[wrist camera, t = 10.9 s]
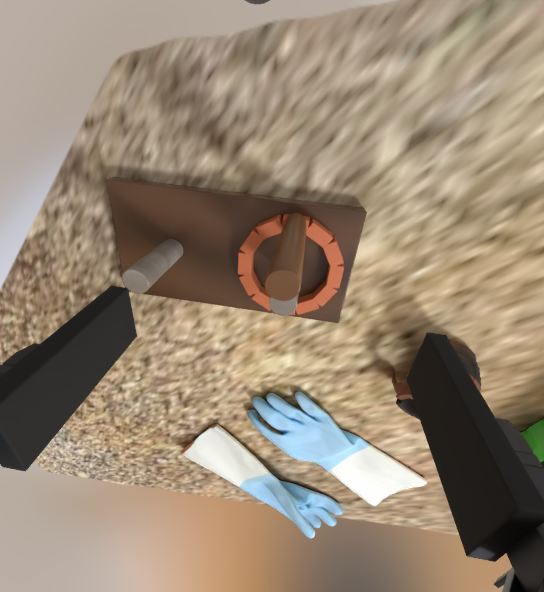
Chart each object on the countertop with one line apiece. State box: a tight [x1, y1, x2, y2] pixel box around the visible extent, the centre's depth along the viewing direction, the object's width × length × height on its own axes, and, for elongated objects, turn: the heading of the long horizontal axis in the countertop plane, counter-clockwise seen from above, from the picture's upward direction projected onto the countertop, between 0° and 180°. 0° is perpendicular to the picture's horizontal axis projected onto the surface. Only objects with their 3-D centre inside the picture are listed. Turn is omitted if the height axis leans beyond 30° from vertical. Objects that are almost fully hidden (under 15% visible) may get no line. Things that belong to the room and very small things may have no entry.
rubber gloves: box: [181, 391, 427, 538], centre depth 49 cm, size 27×33×6 cm
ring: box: [238, 213, 344, 315], centre depth 26 cm, size 11×11×14 cm
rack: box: [106, 177, 367, 323], centre depth 30 cm, size 13×26×10 cm, turn 85°
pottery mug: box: [392, 340, 481, 420], centre depth 35 cm, size 12×10×8 cm
